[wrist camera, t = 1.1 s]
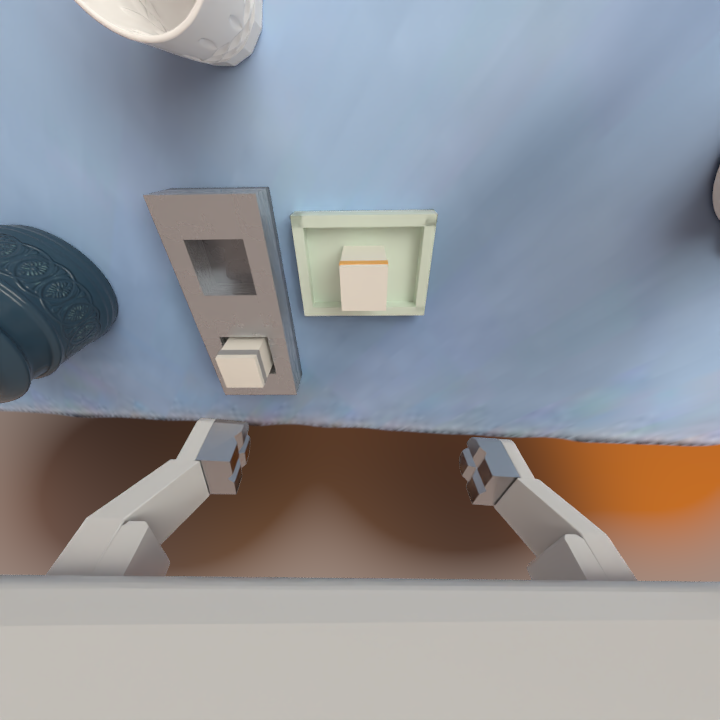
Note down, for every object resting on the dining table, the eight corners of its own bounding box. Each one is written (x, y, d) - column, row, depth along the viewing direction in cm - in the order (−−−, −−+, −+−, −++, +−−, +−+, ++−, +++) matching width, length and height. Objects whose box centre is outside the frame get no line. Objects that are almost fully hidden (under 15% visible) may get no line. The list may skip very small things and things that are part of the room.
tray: (433, 209, 27) (437, 214, 25) (420, 306, 33) (423, 315, 31) (294, 211, 27) (290, 215, 25) (307, 307, 33) (304, 316, 32)
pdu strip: (268, 187, 26) (255, 193, 23) (302, 373, 39) (296, 394, 36) (170, 188, 26) (143, 195, 23) (236, 374, 39) (225, 394, 36)
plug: (384, 244, 28) (388, 266, 23) (383, 284, 31) (386, 311, 26) (342, 245, 28) (338, 266, 24) (344, 284, 31) (341, 311, 26)
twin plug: (270, 326, 34) (254, 357, 29) (277, 355, 36) (263, 387, 31) (235, 327, 34) (214, 358, 29) (244, 355, 36) (226, 387, 31)
